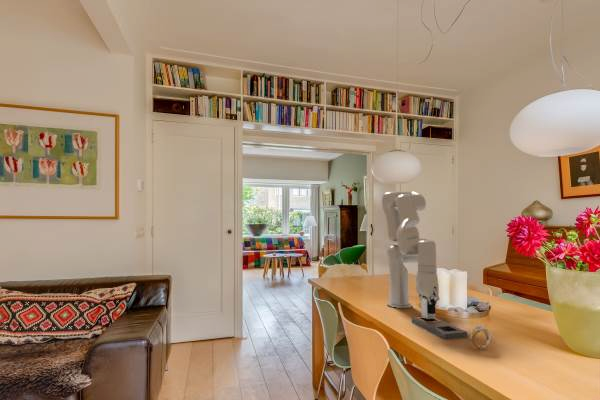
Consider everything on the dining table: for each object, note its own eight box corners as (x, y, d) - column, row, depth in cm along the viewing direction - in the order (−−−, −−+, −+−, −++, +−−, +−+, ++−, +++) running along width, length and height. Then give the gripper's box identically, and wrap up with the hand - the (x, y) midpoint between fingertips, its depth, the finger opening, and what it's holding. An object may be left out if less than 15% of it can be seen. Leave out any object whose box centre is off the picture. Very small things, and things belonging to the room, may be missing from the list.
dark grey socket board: (411, 322, 147) (411, 316, 147) (431, 320, 149) (431, 315, 149) (444, 339, 126) (444, 333, 126) (467, 337, 128) (467, 331, 128)
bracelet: (487, 347, 118) (486, 323, 119) (493, 350, 115) (492, 326, 115) (468, 347, 118) (467, 324, 118) (473, 351, 115) (472, 327, 115)
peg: (421, 316, 145) (421, 297, 145) (429, 315, 146) (429, 296, 146) (427, 318, 141) (426, 299, 141) (435, 318, 142) (435, 299, 142)
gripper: (408, 266, 152) (409, 307, 151) (431, 272, 136) (433, 318, 134) (423, 266, 154) (424, 306, 152) (447, 271, 137) (449, 316, 136)
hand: (428, 311), depth 143 cm, fingers closed on peg, 4 cm apart
